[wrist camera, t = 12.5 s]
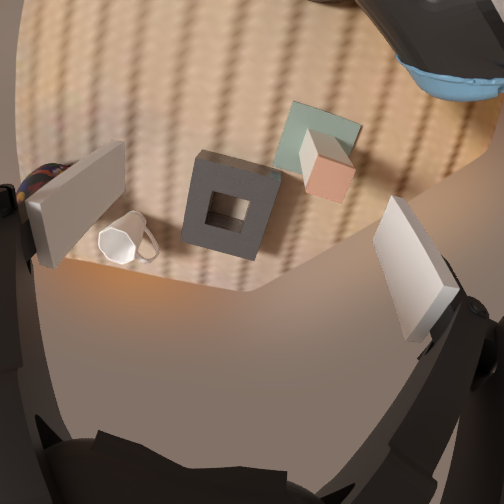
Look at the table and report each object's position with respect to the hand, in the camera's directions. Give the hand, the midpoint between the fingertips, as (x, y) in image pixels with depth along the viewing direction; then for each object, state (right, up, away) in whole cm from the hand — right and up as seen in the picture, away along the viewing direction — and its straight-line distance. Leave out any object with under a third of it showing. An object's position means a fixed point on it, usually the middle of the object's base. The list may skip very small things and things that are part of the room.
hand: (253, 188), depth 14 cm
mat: (+9, +12, +28) cm, 32 cm away
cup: (-19, +2, +38) cm, 43 cm away
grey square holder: (-3, +5, +34) cm, 34 cm away
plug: (+9, +12, +27) cm, 31 cm away
